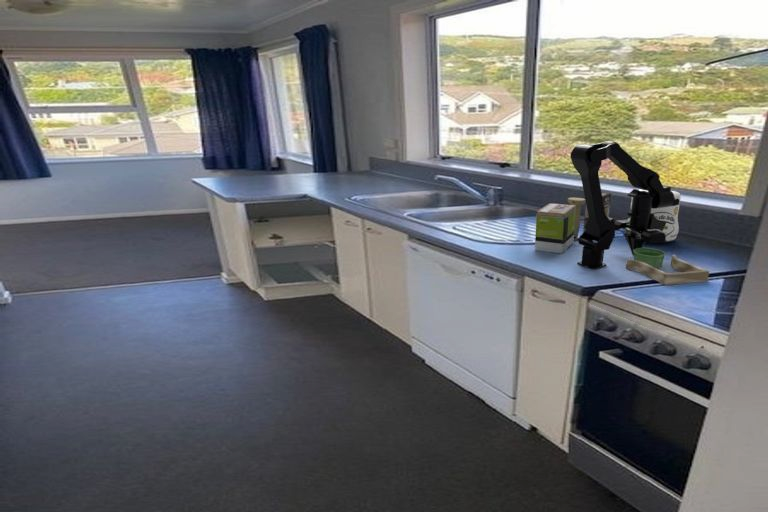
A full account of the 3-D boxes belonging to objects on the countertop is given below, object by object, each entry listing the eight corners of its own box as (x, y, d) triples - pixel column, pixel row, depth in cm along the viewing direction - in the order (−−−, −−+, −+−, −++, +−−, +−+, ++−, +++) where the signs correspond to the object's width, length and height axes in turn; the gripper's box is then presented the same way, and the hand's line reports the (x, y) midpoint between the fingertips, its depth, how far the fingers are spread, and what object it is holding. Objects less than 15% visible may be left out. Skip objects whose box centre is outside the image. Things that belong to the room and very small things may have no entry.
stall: (624, 267, 151) (625, 258, 150) (673, 263, 153) (674, 254, 152) (659, 285, 136) (661, 275, 135) (713, 280, 138) (714, 270, 137)
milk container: (655, 249, 168) (662, 199, 162) (613, 238, 183) (619, 191, 177) (687, 242, 175) (695, 193, 169) (644, 231, 190) (650, 186, 184)
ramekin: (665, 270, 147) (667, 257, 146) (633, 267, 151) (634, 254, 149) (661, 261, 155) (663, 248, 154) (630, 259, 158) (632, 246, 157)
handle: (568, 234, 190) (571, 197, 185) (584, 237, 185) (587, 199, 181) (562, 236, 187) (565, 198, 182) (578, 239, 182) (582, 201, 178)
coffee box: (598, 237, 184) (603, 196, 179) (582, 235, 188) (586, 194, 183) (607, 232, 190) (612, 192, 185) (591, 230, 194) (595, 191, 189)
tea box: (546, 240, 183) (549, 202, 179) (573, 243, 178) (577, 204, 173) (533, 250, 172) (536, 210, 167) (562, 254, 166) (565, 213, 161)
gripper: (685, 214, 146) (677, 262, 151) (643, 202, 164) (637, 245, 169) (652, 217, 145) (645, 265, 149) (614, 204, 162) (609, 248, 167)
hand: (634, 255), depth 159 cm, fingers closed
